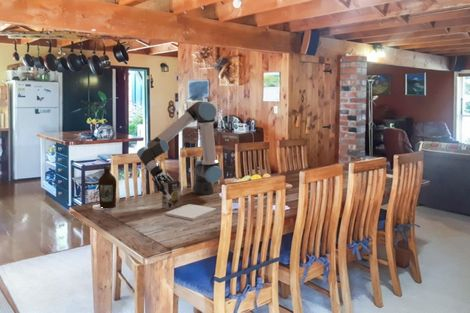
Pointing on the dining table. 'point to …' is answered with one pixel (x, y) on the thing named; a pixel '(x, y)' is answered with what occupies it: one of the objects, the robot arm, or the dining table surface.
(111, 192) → the olive oil
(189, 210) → the board
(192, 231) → the dining table surface
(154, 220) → the dining table surface
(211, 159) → the robot arm
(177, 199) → the coffee box
